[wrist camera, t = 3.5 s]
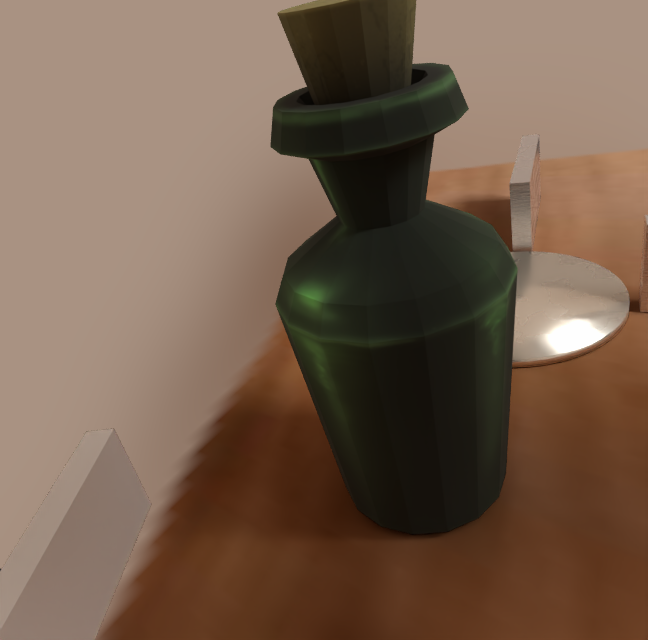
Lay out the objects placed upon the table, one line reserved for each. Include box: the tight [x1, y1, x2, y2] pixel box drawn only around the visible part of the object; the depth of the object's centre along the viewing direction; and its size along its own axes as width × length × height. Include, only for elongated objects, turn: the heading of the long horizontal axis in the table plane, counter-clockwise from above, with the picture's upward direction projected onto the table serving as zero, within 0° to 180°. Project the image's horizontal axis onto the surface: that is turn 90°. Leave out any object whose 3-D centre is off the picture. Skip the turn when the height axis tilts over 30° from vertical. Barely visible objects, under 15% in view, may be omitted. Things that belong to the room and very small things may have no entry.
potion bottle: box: [271, 0, 518, 534], centre depth 21 cm, size 8×8×18 cm
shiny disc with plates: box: [510, 134, 648, 368], centre depth 34 cm, size 19×24×5 cm
